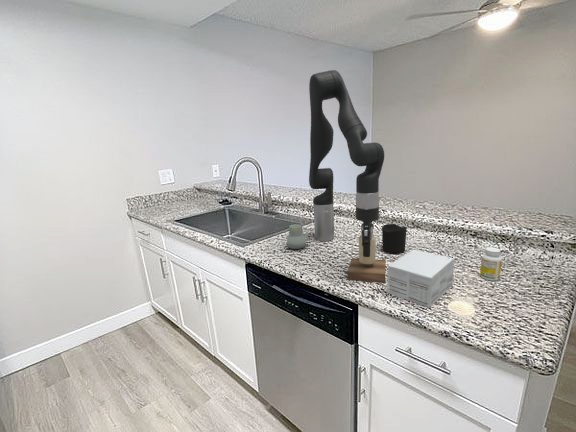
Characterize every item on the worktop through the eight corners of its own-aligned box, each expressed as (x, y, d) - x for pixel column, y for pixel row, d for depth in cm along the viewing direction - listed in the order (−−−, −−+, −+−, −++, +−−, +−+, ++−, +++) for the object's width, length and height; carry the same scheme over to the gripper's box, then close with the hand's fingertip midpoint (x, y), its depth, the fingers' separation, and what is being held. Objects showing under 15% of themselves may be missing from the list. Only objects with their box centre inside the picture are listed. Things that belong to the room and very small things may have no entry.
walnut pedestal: (351, 265, 113) (351, 257, 113) (385, 267, 110) (385, 259, 109) (347, 279, 102) (347, 271, 102) (385, 282, 99) (385, 274, 98)
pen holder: (402, 246, 129) (403, 223, 127) (408, 254, 120) (409, 230, 118) (379, 246, 130) (380, 224, 128) (384, 254, 121) (384, 231, 119)
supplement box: (411, 274, 104) (412, 248, 102) (452, 286, 94) (455, 258, 92) (386, 293, 93) (386, 264, 90) (429, 308, 83) (431, 277, 81)
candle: (363, 265, 102) (363, 237, 99) (356, 259, 107) (355, 232, 104) (378, 262, 103) (378, 234, 101) (370, 257, 108) (370, 230, 106)
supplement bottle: (487, 281, 95) (491, 253, 93) (476, 274, 100) (478, 247, 98) (504, 280, 96) (507, 251, 93) (491, 273, 101) (494, 245, 98)
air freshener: (306, 251, 131) (305, 228, 128) (287, 252, 131) (286, 229, 128) (305, 242, 141) (304, 221, 139) (287, 243, 142) (286, 222, 139)
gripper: (357, 200, 108) (357, 245, 112) (353, 210, 95) (353, 260, 99) (379, 200, 105) (379, 246, 110) (378, 210, 92) (377, 262, 96)
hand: (367, 253), depth 104 cm, fingers closed on candle, 5 cm apart
